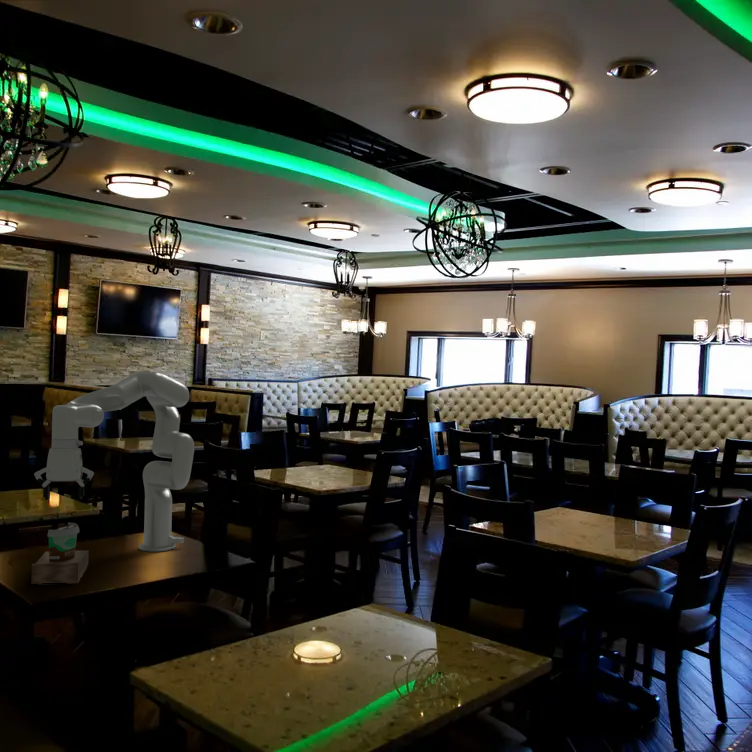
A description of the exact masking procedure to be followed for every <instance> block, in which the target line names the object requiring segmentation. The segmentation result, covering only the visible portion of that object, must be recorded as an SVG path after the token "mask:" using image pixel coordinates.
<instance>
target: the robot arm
mask: <svg viewBox="0 0 752 752" xmlns="http://www.w3.org/2000/svg"><path fill="white" fill-rule="evenodd" d="M143 397H145V398H146V400H147V401H148V403H149V404H150V405H151V407H152V408H153V410H154V413H155V424H154V425H155V427H154V431H153V432H154V433H153V437H152V445H151V451H152V453H153V454H154V456H157V457H160V458H166V459H171V461H165V460H164V461H163V460H152V461H150V462H148V463H147V464H146V465H145V466H144V468H143V471H142V480H143V486H144V522H143V523H144V524H143V525H144V526H143V527H144V529H143V542H142V543H140V544H139V545H138V549H139V550H141V551H144V552H150V553H151V552H152V553H153V552H154V553H155V552H167V551H171V550H173V549H175V548H176V544H177V543H178V544H184V543H185V538H184V537H181V536H174V535H173V533H172V522H173V521H172V520H173V518H172V516H173V515H172V514H173V496H172V493H171V490H176V491H177V490H179V491H180V490H183V489H185V487H187V485H188V483H189V481H190V478H191V473H192V467H193V461H194V454H195V443H194V439H193V438H192V436H191V435H190V434H188V433H186V432H180V425H181V424H180V423H181V416H180V412H179V410H178V409H177V408H182V407H184V406H185V405H186V404H187V403H188V402H189V400H190V392H189V389H188V387H187V386H186V385H185V384H184V383H182V382H180V381H179V380H176V379H174V378H172V377H170V376H168V375H165V374H164V373H160V372H156V371H155V372H154V371H153V372H152V371H139V372H135V373H133V374H130V375H129V376H128V377H125V378H124V379H122V380H120V381H118V382H117V383H115V384H112V385H110V386H108V387H107V386H106V387H104V388H101V389H98V390H95V391H94V390H93V391H91V392H89V393H86V394H83V395H80V396H78V397H76V398H73V400H71V401H69V402H68V403H66V404H58V405H55V406H53V408H52V415H51V416H52V417H51V419H52V420H51V448H50V449H49V451H48V455H47V461H46V467H44V468H41V469H40V470H38V471H36V472H34V474H33V475H34V478H35V479H36V481H37V482H38V484H39V485H40V486H42V488H43V490H42V491H43V492H42V497H43V498H45V499H44V501H48V500H49V499H50V498H51V497H50V492H51V491H50V490H51V489H50V488H51V487H50V484H51V482H76V483H78V485H79V486H78V493H77V494H78V495H77V497H78V498H77V499H78V500H80V501H81V500H82V499H83V497H85V486H86V485H87V484H88V483H89V482H90V481H91V480H92V478H93V476H94V475H95V472H94V471H93V470H90V469H88V468H86V467H84V466H83V454H82V449H81V448H79V447H80V446H83V444H84V442H83V440H79V428H80V427H81V428H95V427H98V426H99V425H101V424H102V423H103V422H104V418H105V413H104V412H113V411H118V410H122V409H124V408H126V407H129V405H131V404H132V403H135V402H136V401H138V400H140V399H142V398H143ZM44 473H45V478H46V480H44V479H43V478H42V476H41V475H43V474H44ZM83 473H84V474H86V475H87V476H86V478H85V479H83Z"/></svg>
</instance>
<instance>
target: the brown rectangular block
mask: <svg viewBox="0 0 752 752" xmlns="http://www.w3.org/2000/svg"><path fill="white" fill-rule="evenodd" d="M89 552H90V551H89V550H75V557H74V558H73V559H70V560H66V561H58V562H49V550H47V551H45V552H44V553H43V554H42V556H40V558H39V559H38V560H37V561H36V562H35V563H31V576H30V577H31V583H30V584H38V585H43V584H42V583H67V584H79V582H80V581H81V579H82V577H83V576H84V574H85V572H86V571H87V569H88V567H89ZM87 566H88V567H87ZM83 573H84V574H83ZM80 578H81V579H80Z"/></svg>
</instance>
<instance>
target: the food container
mask: <svg viewBox="0 0 752 752" xmlns="http://www.w3.org/2000/svg"><path fill="white" fill-rule="evenodd" d="M78 525H79V524H78V523H75V522H67V525H65V526H61V527H57V528H56V529H48V532H47V536H46V537H47V538H48V551H49V562H58V561H66V560H70V559H73V558H74V557H75V551H76V547H77V538H78V537H77V536H78V534H79V533H80V527H79V526H78Z"/></svg>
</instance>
